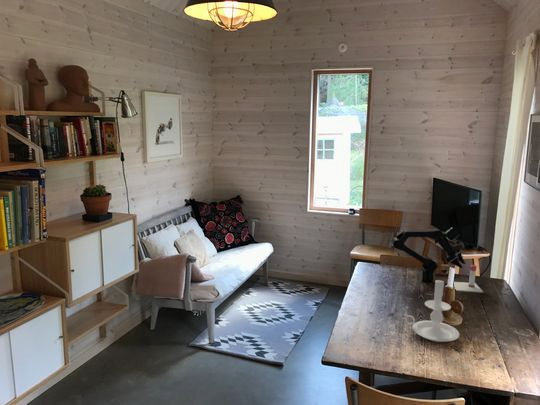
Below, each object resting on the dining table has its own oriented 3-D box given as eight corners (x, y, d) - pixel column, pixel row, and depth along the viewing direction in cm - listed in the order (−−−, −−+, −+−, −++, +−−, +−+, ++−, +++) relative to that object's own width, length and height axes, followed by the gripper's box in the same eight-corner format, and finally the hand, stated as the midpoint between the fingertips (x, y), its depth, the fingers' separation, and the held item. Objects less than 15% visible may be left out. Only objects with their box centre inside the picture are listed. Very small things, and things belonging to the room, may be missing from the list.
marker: (469, 287, 265) (471, 266, 263) (467, 284, 269) (469, 264, 266) (475, 287, 265) (477, 267, 262) (473, 285, 268) (475, 265, 266)
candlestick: (404, 322, 218) (408, 268, 213) (457, 330, 210) (463, 275, 205) (401, 340, 199) (405, 282, 194) (459, 351, 191) (465, 290, 186)
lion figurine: (430, 273, 290) (431, 260, 288) (430, 271, 295) (431, 258, 293) (454, 276, 285) (455, 263, 284) (453, 273, 290) (454, 260, 289)
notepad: (453, 291, 260) (453, 290, 260) (447, 282, 275) (447, 281, 275) (483, 292, 258) (483, 291, 258) (475, 283, 272) (475, 282, 272)
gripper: (453, 241, 260) (472, 262, 256) (459, 234, 275) (476, 254, 271) (438, 251, 265) (456, 272, 261) (445, 245, 281) (462, 264, 277)
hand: (463, 265), depth 267 cm, fingers open, 9 cm apart
